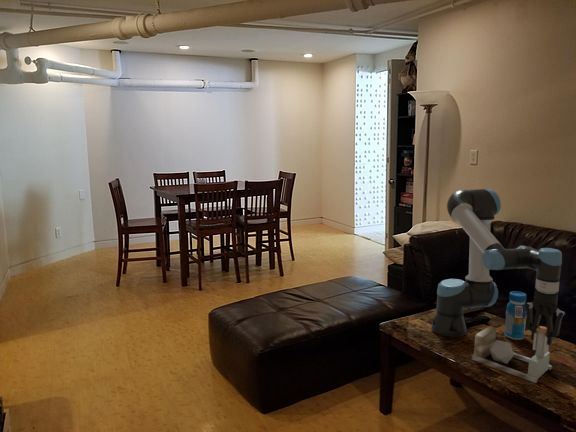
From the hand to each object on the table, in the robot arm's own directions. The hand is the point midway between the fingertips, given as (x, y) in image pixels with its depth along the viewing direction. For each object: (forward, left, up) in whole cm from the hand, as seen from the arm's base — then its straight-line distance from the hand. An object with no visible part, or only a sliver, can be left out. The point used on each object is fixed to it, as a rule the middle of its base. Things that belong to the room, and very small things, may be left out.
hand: (540, 350), depth 176 cm
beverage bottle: (-20, +27, -10) cm, 35 cm away
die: (-14, 0, -10) cm, 17 cm away
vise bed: (-10, 0, -10) cm, 14 cm away
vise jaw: (0, 0, -9) cm, 9 cm away
